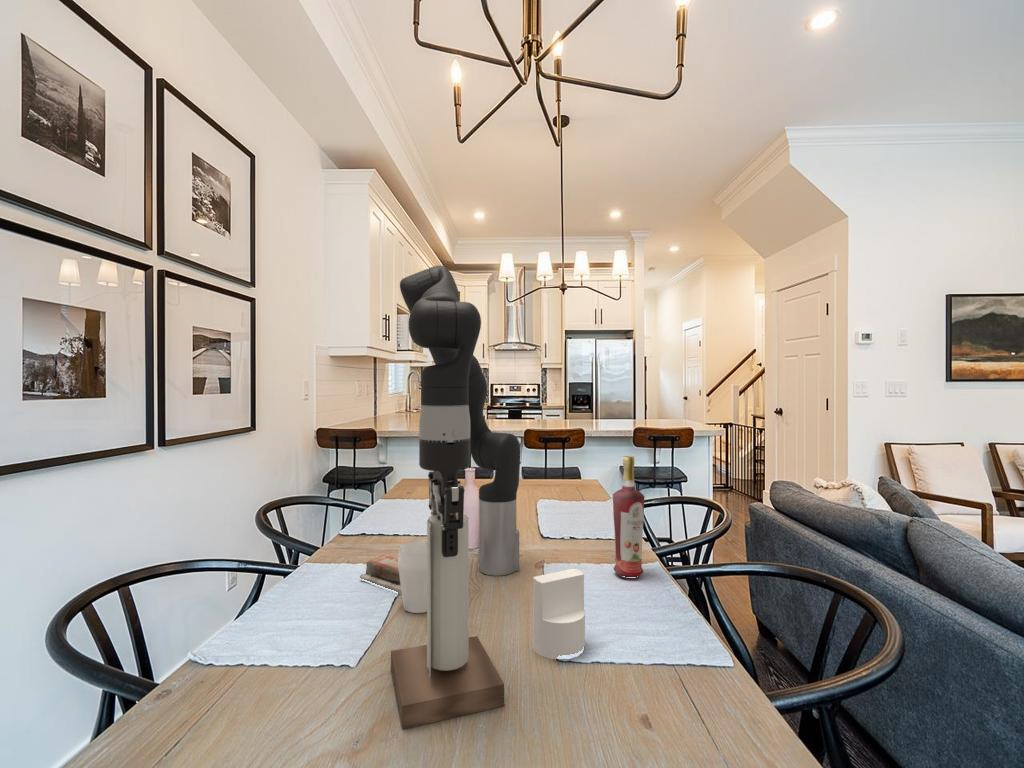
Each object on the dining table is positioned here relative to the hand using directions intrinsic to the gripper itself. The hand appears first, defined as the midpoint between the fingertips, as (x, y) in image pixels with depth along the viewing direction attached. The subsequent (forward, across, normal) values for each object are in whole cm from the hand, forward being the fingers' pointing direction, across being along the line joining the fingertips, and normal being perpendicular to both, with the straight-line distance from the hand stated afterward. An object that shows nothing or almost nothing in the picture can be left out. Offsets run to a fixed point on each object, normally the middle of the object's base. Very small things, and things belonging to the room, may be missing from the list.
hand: (444, 547), depth 72 cm
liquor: (+21, -28, +50) cm, 61 cm away
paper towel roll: (+17, 0, 0) cm, 17 cm away
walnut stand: (+21, 0, 0) cm, 21 cm away
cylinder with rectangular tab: (+21, -5, +21) cm, 30 cm away
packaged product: (+21, -42, -1) cm, 47 cm away
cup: (+21, -28, +1) cm, 35 cm away
